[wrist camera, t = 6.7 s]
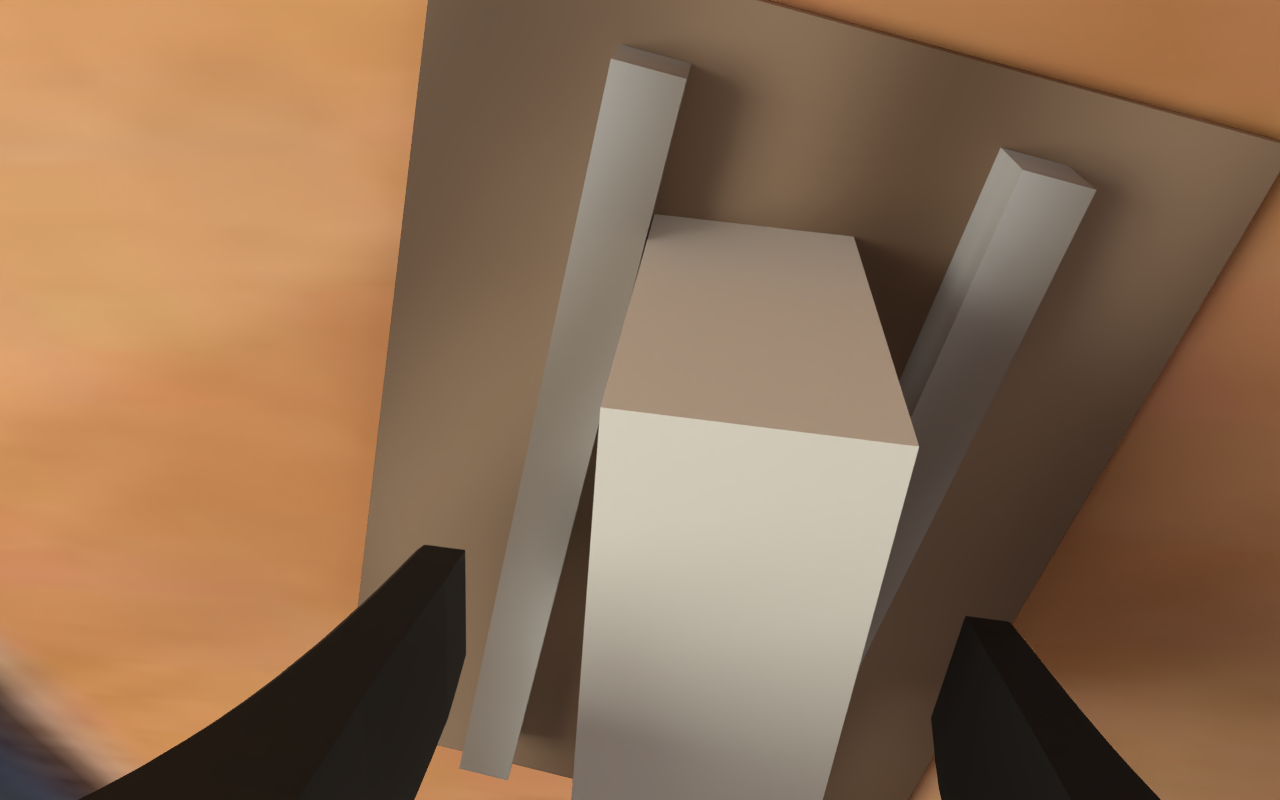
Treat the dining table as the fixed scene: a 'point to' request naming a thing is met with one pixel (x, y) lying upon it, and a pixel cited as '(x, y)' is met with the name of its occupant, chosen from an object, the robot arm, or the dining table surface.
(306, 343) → the dining table surface
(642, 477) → the cream rectangular block
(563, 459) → the track board
